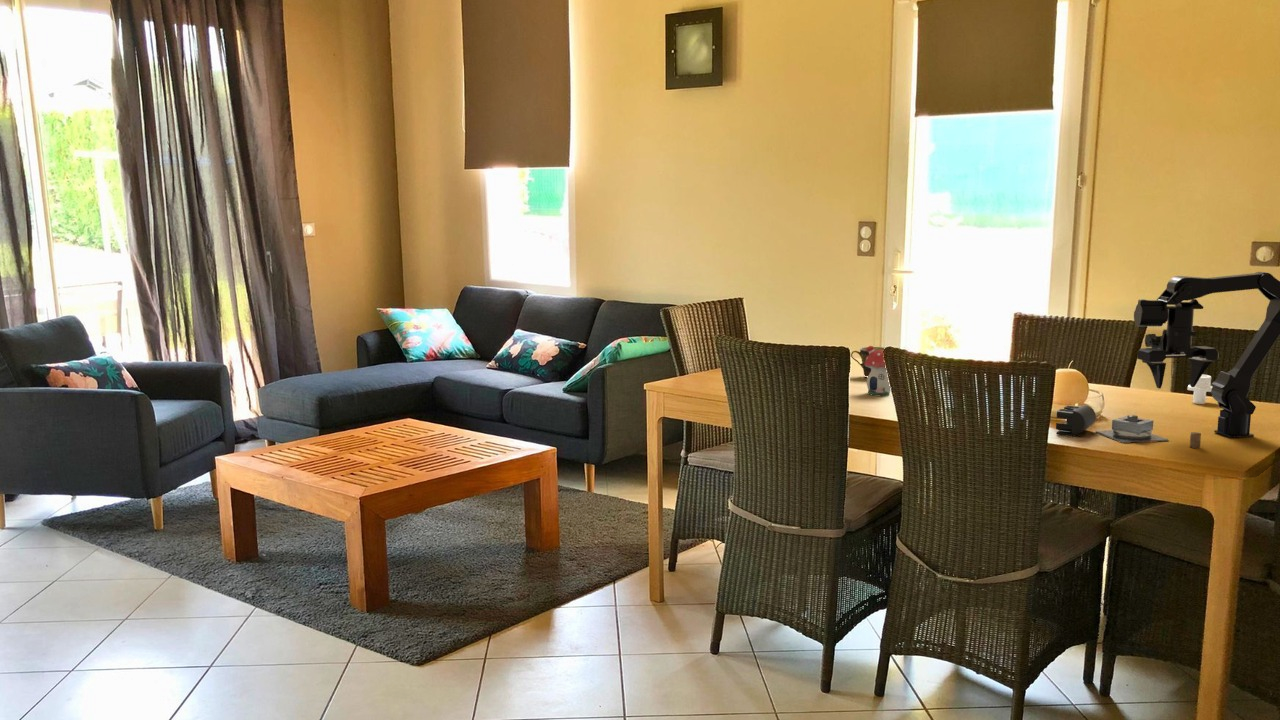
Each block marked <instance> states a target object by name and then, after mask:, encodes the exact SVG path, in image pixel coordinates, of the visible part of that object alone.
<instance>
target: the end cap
mask: <svg viewBox="0 0 1280 720" xmlns="http://www.w3.org/2000/svg"><path fill="white" fill-rule="evenodd" d="M1096 418H1097V415H1096V412H1095V410H1094V409H1093V408H1092V407H1091V406H1090V405H1087V404H1083V405H1081V406H1076V405H1065V406H1064V407H1063V408H1060V409H1058V410H1057V411H1056V419H1063V420H1066V421H1065V422H1056V423H1055V429H1056V430H1057V431H1056V435H1058V434H1059V435H1060V436H1066V435H1067V437H1076V436H1077V435H1079V434H1081V433H1083V432H1084V431H1086V430H1088V429H1089V428H1090V427H1091V426H1093V425H1094V424H1095V422H1096Z"/></svg>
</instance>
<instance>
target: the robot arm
mask: <svg viewBox="0 0 1280 720" xmlns="http://www.w3.org/2000/svg"><path fill="white" fill-rule="evenodd" d="M1249 290H1258V291H1259V292H1260V293H1261V294H1262V296H1264V297H1265V298H1266V299H1267V300H1268V301H1269V302H1268V305H1267V307H1266V312H1265V313H1266V314H1265V318H1264V321H1263V322H1262V324H1261V325H1260V327H1259V328H1258V329H1257V331H1256V333H1255V334H1254V336H1253V337H1252V339H1251V340H1250V342H1249V344H1248V345H1247V347H1246V348H1245V350H1244V351H1243V353H1242V354H1241V355H1240V357H1239V358H1238V360H1237V362H1236V363H1235V364H1234V366H1233V367H1232V369H1230V370H1229V371H1227V372H1225V371H1222V370H1220V371H1219V373H1218V375H1217V376H1216V378H1215V380H1214V381H1213V382H1211V383H1210V384H1211V386H1212V389H1211V392H1210V393H1211V396H1212V398H1213V400H1215V401H1216V402H1217V406H1218V407H1219V408H1220V410H1219V415H1218V417H1217V429H1214V430H1213V431H1214V432H1213V433H1214V434H1215V433H1216V434H1218V435H1221V436H1225V437H1229V438H1230V439H1231V438H1253V437H1255V434H1253V433H1251V432H1250V430H1251V429H1250V428H1251V422H1252V421H1251V417H1252V416H1251V415H1253V414H1254V413H1255V410H1256V408H1257V406H1256V405H1255V404H1254V403H1253V402H1252V400H1250V399H1249V398H1248V395H1249V393H1250V390H1251V386H1252V379H1253V376H1254V374H1255V373H1256V371H1257V370H1258V369H1259V367H1260V366H1261V364H1262V363H1263V361H1264V360H1265V358H1266V357H1267V355H1268V354H1269V352H1270V351H1271V349H1272V348H1273V346H1274V345H1275V344H1276V342H1277V340H1278V339H1279V337H1280V280H1279V279H1278V278H1276V277H1275V276H1274V275H1273V274H1272V273H1269V272H1266V271H1257V272H1254V273H1242V274H1232V275H1225V276H1215V277H1214V276H1213V277H1200V276H1188V275H1187V276H1183V275H1176V276H1172V277H1171V278H1170V279H1169V281H1168V282H1167V284H1166V288H1164V291H1163V292H1162V293H1161V294H1160V295H1159V296H1158V297H1157V299H1154V300H1153V299H1152V300H1151V299H1145V298H1144V299H1143V298H1142V299H1138V301H1137V304H1136V306H1135V309H1134V311H1133V321H1134V325H1135V326H1136V327H1162V326H1163V325H1164V324H1166V329H1163V331H1162V335H1156V333H1147V334H1145V337H1144V345H1145V347H1144V348H1143V347H1141V348H1139V350H1138V351H1137V357H1136V359H1137V360H1140V361H1141V362H1142V363H1144V364H1146V365H1147V366H1148V368H1149V369H1150V372H1151V374H1152V377H1153V380H1154V383H1155V386H1156V388H1157V389H1158V390H1159V389H1162V385H1163V383H1164V377H1165V372H1166V367H1167V362H1164V361H1165V360H1166V359H1173V358H1175V359H1177V358H1181V359H1182V358H1188V361H1189V364H1190V376H1189V385H1190V386H1191V387H1195V385H1196V384H1197V382H1198V380H1199V379H1200V377H1201V376H1202V375H1204V374H1205V371H1206V370H1207V369H1208V368H1209V366H1210V365H1211V364H1214V361H1217V360H1219V354H1220V353H1219V350H1218V349H1217V348H1216V347H1210V346H1206V345H1201V346H1200V345H1199V346H1198V345H1197V346H1192V342H1193V336H1194V337H1196V333H1197V332H1196V331H1195V330H1193V327H1194V314H1195V311H1194V310H1203V309H1204V306H1203V305H1202V304H1201V303H1200V302H1199V300H1197V299H1199V298H1202V297H1205V296H1209V295H1211V294H1218V293H1229V292H1236V291H1239V292H1240V291H1249Z"/></svg>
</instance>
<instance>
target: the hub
mask: <svg viewBox="0 0 1280 720" xmlns="http://www.w3.org/2000/svg"><path fill="white" fill-rule="evenodd" d="M1126 416H1127V421H1130V422H1136V423H1137V422H1138V418H1139V416H1138V415H1135V414H1128V415H1126ZM1152 431H1153V430H1151V431H1147V432H1144V433H1141V434H1137V433H1131V432H1125V431H1119V430H1113V429H1112V428H1111V429H1110V430H1095V433H1096V434H1098V435H1101V436H1103V437H1106V438H1108V439H1110V440H1113V439H1114V440H1113V441H1116V440H1117V442H1119V441H1120V442H1119V443H1121V442H1123V443H1122V444H1130V443H1129V442H1141V443H1151V442H1150V441H1162V442H1169V441H1170V440H1169V439H1168V438H1165V437H1163V436H1160V435H1156V434H1154V433H1153V432H1152ZM1127 442H1128V443H1127Z"/></svg>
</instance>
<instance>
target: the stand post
mask: <svg viewBox="0 0 1280 720" xmlns="http://www.w3.org/2000/svg"><path fill="white" fill-rule="evenodd" d="M1201 437H1202V433H1201V432H1195V431H1193V432H1190V435H1189V438H1190V439H1189V448H1190V447H1192V448H1191V449H1196V448H1198V449H1200V448H1201V440H1202V439H1201Z"/></svg>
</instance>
